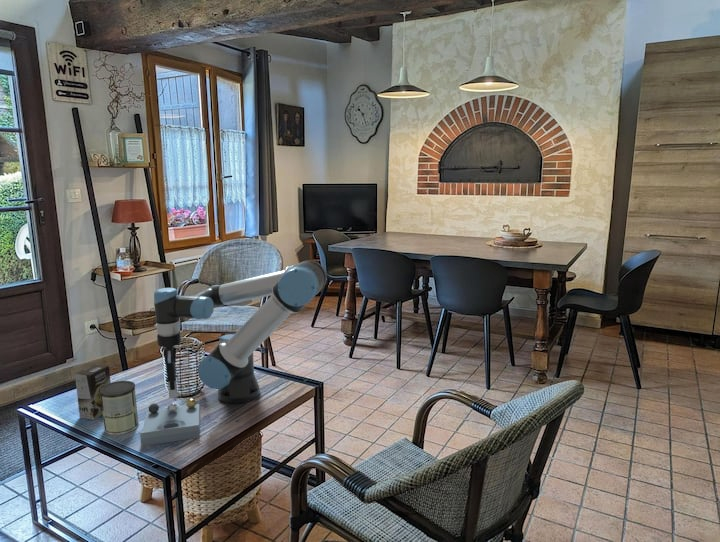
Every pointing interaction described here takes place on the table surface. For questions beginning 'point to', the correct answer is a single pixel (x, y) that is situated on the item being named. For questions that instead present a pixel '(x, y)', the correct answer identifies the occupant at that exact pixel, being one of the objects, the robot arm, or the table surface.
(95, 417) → the coffee box
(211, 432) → the table surface
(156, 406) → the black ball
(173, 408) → the steel ball
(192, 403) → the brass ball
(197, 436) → the board
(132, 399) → the coffee can
